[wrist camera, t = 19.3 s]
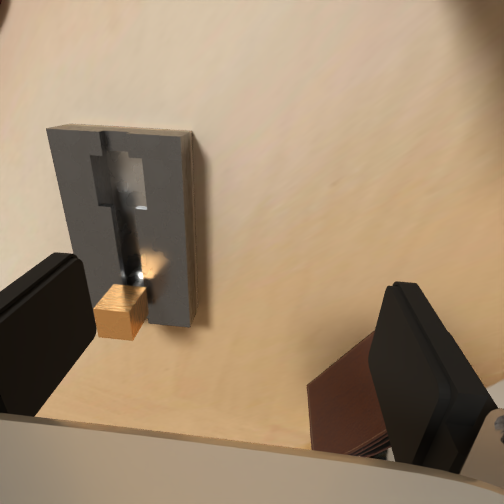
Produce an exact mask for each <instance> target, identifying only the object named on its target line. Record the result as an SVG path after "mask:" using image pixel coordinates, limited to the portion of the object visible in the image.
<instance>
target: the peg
mask: <svg viewBox="0 0 504 504" xmlns="http://www.w3.org/2000/svg"><path fill="white" fill-rule="evenodd" d="M93 311H94V316H95V321H96V326H97V331H98V336H99V337H102V338H112V339H121V340H131V341H133V340H134V338H135V336H136V335H137V333H138V331H139V329H140V328H141V326H142V324H143V323H144V321H145V319H146V317H147V316H148V314H149V312H148V302H147V293H146V287H144V281H143V273H142V267H140V268H136V269H135V270H133V272H132V273H131V274H130V275H129V277H128V278H127V285H118V284H113V286H112V287H111V288H110V289H109V290H108V292H107V293H106V294H105V295H104V296H103V297H102V299H101V300H100V301H99V302H98V303H97V305H96V306H95V307H94V308H93Z"/></svg>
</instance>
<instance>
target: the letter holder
mask: <svg viewBox="0 0 504 504" xmlns="http://www.w3.org/2000/svg"><path fill="white" fill-rule="evenodd" d="M374 332H375V331H374ZM374 332H372V333H371V334H370V335H369V336H367V337H366V338H365V339H364V340H362V341H361V342H360V343H359V344H357V345H356V346H355V347H354V348H352V349H351V350H350V351H349V352H347V353H346V354H345V355H344V356H342V357H341V358H340V359H339V360H337V361H336V362H335V363H334V364H333V365H331V366H330V367H329V368H328V369H326V370H325V371H324V372H323V373H322V374H320V375H319V376H318V377H317V378H315V379H314V380H313V381H312V382H310V383H309V384H308V385H307V394H308V408H309V420H310V436H311V447H312V450H314V451H322V452H330V453H337V454H344V455H351V456H360V457H369V456H373V455H375V454H378V453H380V452H382V451H384V450H386V449H388V448H390V447H391V444H390V440H389V437H388V433H387V430H386V426H385V422H384V419H383V415H382V412H381V408H380V405H379V401H378V398H377V394H376V390H375V387H374V383H373V380H372V376H371V373H370V369H369V365H368V356H369V351H370V347H371V344H372V340H373V336H374Z"/></svg>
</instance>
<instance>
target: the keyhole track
mask: <svg viewBox="0 0 504 504" xmlns="http://www.w3.org/2000/svg"><path fill="white" fill-rule="evenodd" d="M46 131H47V136H48V140H49V145H50V149H51V154H52V158H53V163H54V167H55V172H56V176H57V181H58V185H59V190H60V195H61V199H62V204H63V208H64V213H65V217H66V222H67V226H68V231H69V235H70V240H71V244H72V249H73V253H74V254H75V255H76V256H77V257H78V259H80V260H82V262H83V265H84V270H85V275H86V279H87V284H88V289H89V294H90V298H91V303H92V308H94V307H95V306H96V305H97V303H98V302H99V301H100V300H101V299H102V297H103V296H104V295H105V294H106V293H107V292H108V290H109V289H110V288H111V287H112V286H113V284H118V285H127V278H128V277H129V275H130V274H131V273H132V272H133V270H135V269H136V268H140V267H142V273H143V281H144V287H146V293H147V302H148V312H149V314H148V316H147V317H146V318H148V322H149V323H150V324H160V325H170V326H180V327H191V324H192V322H193V319H194V317H195V314H196V312H197V309H198V286H197V258H196V230H195V202H194V174H193V146H192V131H187V130H170V129H153V128H136V127H119V126H102V125H85V124H67V125H62V126H57V127H51V128H46ZM93 313H94V311H93ZM94 318H95V316H94Z"/></svg>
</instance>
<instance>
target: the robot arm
mask: <svg viewBox="0 0 504 504" xmlns="http://www.w3.org/2000/svg"><path fill="white" fill-rule="evenodd" d="M96 329H97V328H96V322H95V318H94V313H93V308H92V303H91V298H90V294H89V289H88V284H87V279H86V275H85V270H84V265H83V262H82V260H80V259H78V257H77V256H76V255H75V254H69V253H53V254H51V255H50V256H49V257H47V258H46V259H44V260H43V261H42V262H40V263H39V264H38V265H36V266H35V267H33V268H32V269H31V270H29V271H28V272H27V273H25V274H24V275H22V276H21V277H20V278H18V279H17V280H16V281H14V282H13V283H11V284H10V285H9V286H7V287H6V288H5V289H3V290H2V291H0V504H504V409H502V408H501V409H500V408H499V409H498V407H497V405H496V404H495V402H494V401H493V399H492V398H491V396H490V394H489V393H488V391H487V390H486V388H485V387H484V385H483V384H482V382H481V380H480V379H479V377H478V376H477V374H476V373H475V371H474V370H473V368H472V366H471V365H470V363H469V362H468V360H467V359H466V357H465V356H464V354H463V352H462V351H461V349H460V348H459V346H458V345H457V343H456V342H455V340H454V338H453V337H452V335H451V334H450V333H449V332H448V331H447V330H446V328H445V327H444V325H443V323H442V322H441V320H440V319H439V317H438V316H437V314H436V312H435V311H434V309H433V308H432V306H431V305H430V303H429V301H428V300H427V298H426V297H425V295H424V294H423V292H422V290H421V289H420V287H419V286H418V285H417V283H408V282H394V284H393V286H387V288H386V291H385V294H384V298H383V302H382V306H381V310H380V313H379V317H378V321H377V325H376V328H375V332H374V336H373V340H372V344H371V347H370V351H369V356H368V365H369V369H370V373H371V376H372V380H373V383H374V387H375V390H376V394H377V398H378V401H379V405H380V408H381V412H382V415H383V419H384V422H385V426H386V430H387V433H388V437H389V440H390V444H391V447H392V451H393V455H394V458H395V462H393V461H386V460H379V459H372V458H365V457H358V456H351V455H344V454H337V453H330V452H322V451H314V450H306V449H298V448H290V447H282V446H274V445H266V444H258V443H251V442H243V441H235V440H227V439H219V438H210V437H202V436H194V435H185V434H177V433H169V432H161V431H152V430H144V429H135V428H127V427H119V426H110V425H102V424H93V423H85V422H76V421H67V420H58V419H49V418H41V417H34V416H35V415H36V414H37V413H38V411H39V410H40V409H41V407H42V406H43V405H44V403H45V402H46V401H47V399H48V398H49V397H50V395H51V394H52V393H53V391H54V390H55V389H56V387H57V386H58V385H59V384H60V382H61V381H62V380H63V378H64V377H65V376H66V374H67V373H68V372H69V370H70V369H71V368H72V366H73V365H74V364H75V362H76V361H77V360H78V359H79V357H80V356H81V355H82V353H83V352H84V351H85V349H86V348H87V347H88V345H89V344H90V343H91V341H92V340H93V339H94V337H95V335H96Z"/></svg>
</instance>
